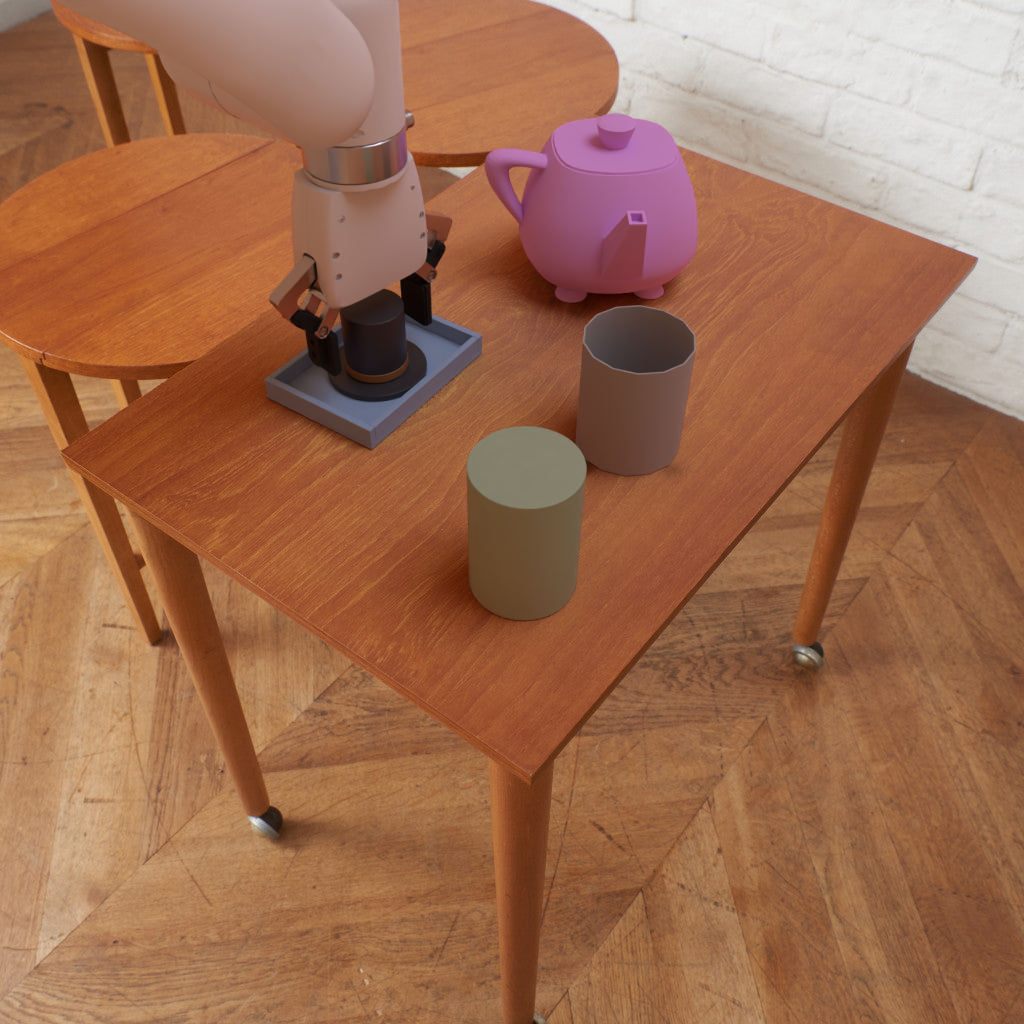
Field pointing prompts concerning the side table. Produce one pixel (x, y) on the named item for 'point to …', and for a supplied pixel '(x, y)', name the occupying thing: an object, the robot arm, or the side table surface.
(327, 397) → the tray
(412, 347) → the hat
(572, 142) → the teapot
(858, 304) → the side table surface
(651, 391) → the cup
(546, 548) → the pedestal
